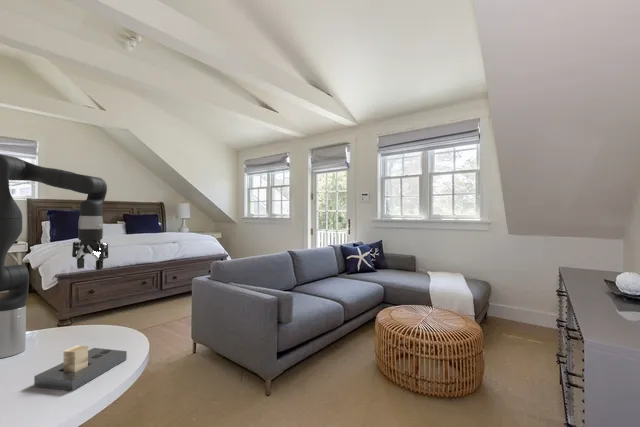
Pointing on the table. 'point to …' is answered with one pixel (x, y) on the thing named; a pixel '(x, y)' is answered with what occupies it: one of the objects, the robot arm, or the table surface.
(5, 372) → the table surface
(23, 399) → the table surface
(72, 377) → the metal socket plate
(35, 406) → the table surface
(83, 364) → the maple block
